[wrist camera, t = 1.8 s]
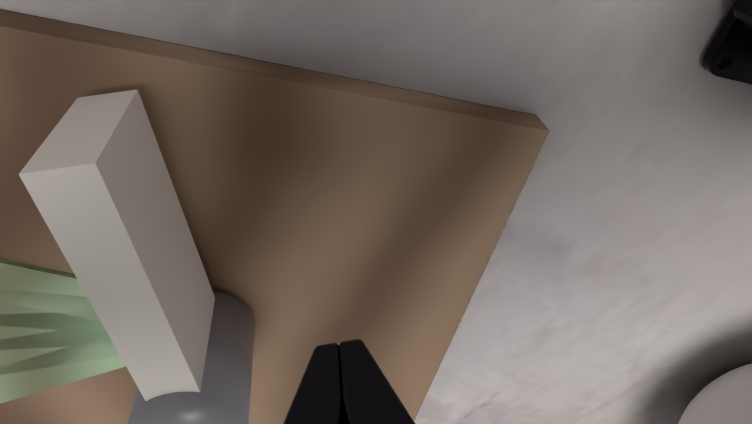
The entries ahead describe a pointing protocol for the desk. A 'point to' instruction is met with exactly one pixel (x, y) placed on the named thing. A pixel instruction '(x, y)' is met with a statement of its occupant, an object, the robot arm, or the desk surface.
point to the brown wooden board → (257, 213)
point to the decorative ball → (723, 400)
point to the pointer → (142, 264)
